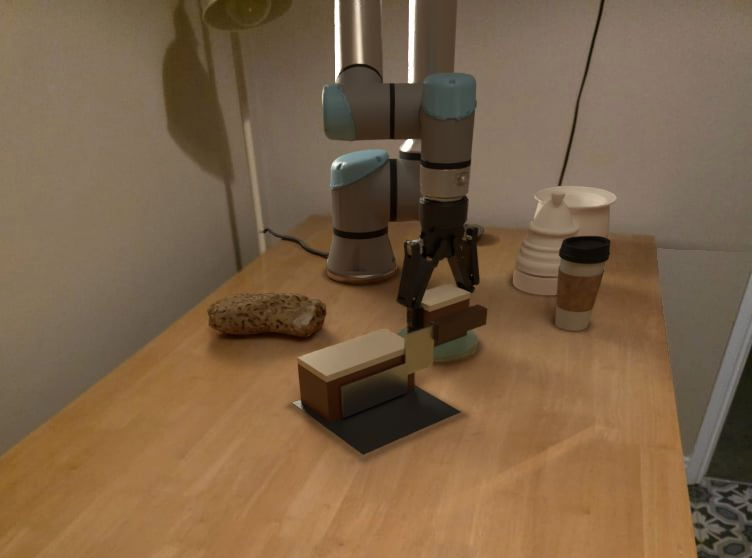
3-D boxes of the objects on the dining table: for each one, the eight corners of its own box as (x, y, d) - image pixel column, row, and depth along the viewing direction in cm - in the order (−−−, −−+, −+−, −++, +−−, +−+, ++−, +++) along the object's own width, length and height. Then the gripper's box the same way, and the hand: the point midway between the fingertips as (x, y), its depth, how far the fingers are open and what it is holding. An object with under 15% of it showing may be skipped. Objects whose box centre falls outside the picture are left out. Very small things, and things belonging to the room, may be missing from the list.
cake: (329, 423, 96) (326, 376, 91) (300, 403, 100) (296, 357, 96) (414, 389, 103) (415, 344, 98) (384, 371, 108) (384, 327, 103)
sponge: (328, 328, 126) (233, 295, 128) (331, 292, 120) (231, 259, 122) (300, 369, 118) (199, 334, 121) (301, 334, 112) (195, 297, 114)
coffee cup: (596, 335, 118) (614, 248, 109) (547, 332, 120) (561, 246, 110) (593, 316, 125) (610, 233, 115) (547, 314, 126) (560, 231, 117)
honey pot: (577, 296, 133) (595, 200, 121) (512, 293, 135) (523, 198, 123) (573, 274, 142) (590, 182, 131) (512, 271, 144) (523, 181, 133)
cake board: (292, 406, 101) (291, 402, 100) (385, 371, 109) (385, 368, 109) (363, 458, 90) (363, 454, 89) (461, 415, 98) (461, 411, 97)
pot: (538, 235, 164) (545, 181, 156) (611, 242, 159) (622, 187, 151) (518, 263, 148) (525, 204, 141) (597, 272, 143) (609, 212, 135)
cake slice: (407, 338, 115) (407, 295, 110) (445, 324, 119) (448, 283, 114) (427, 349, 112) (429, 305, 107) (467, 334, 116) (470, 292, 111)
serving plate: (380, 343, 118) (380, 335, 117) (439, 322, 124) (439, 314, 123) (433, 371, 109) (433, 363, 108) (493, 347, 115) (494, 339, 114)
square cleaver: (346, 420, 95) (344, 358, 89) (338, 414, 97) (334, 352, 91) (482, 366, 108) (487, 308, 102) (472, 361, 109) (477, 304, 103)
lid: (489, 244, 163) (493, 222, 161) (468, 243, 156) (472, 220, 154) (454, 238, 169) (457, 217, 167) (432, 237, 162) (435, 215, 160)
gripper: (404, 213, 94) (402, 360, 108) (512, 188, 104) (497, 325, 118) (372, 203, 98) (374, 345, 113) (478, 179, 108) (467, 312, 123)
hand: (436, 335), depth 115 cm, fingers closed on cake slice, 9 cm apart
